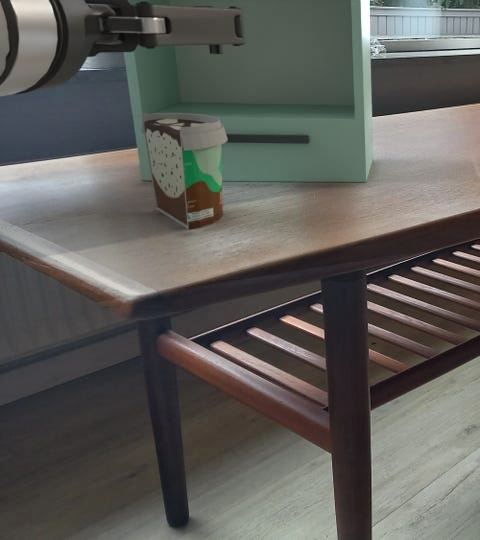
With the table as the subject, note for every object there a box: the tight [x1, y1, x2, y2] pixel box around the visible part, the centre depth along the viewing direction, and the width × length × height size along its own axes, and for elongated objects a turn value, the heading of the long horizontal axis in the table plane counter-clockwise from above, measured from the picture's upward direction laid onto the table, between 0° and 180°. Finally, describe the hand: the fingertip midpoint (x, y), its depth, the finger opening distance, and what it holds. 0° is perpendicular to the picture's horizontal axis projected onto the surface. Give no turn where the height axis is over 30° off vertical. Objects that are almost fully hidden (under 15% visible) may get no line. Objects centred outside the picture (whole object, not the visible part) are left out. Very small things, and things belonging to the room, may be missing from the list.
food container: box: [141, 113, 228, 230], centre depth 71 cm, size 12×6×10 cm, turn 42°
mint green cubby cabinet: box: [123, 0, 374, 183], centre depth 91 cm, size 17×28×25 cm, turn 95°
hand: (138, 23), depth 56 cm, fingers open, 13 cm apart
